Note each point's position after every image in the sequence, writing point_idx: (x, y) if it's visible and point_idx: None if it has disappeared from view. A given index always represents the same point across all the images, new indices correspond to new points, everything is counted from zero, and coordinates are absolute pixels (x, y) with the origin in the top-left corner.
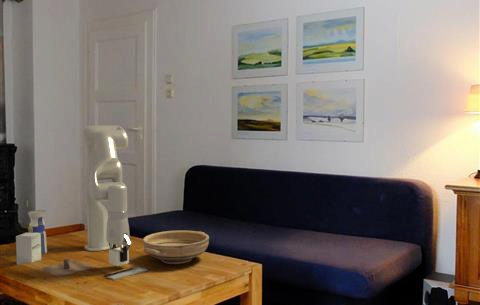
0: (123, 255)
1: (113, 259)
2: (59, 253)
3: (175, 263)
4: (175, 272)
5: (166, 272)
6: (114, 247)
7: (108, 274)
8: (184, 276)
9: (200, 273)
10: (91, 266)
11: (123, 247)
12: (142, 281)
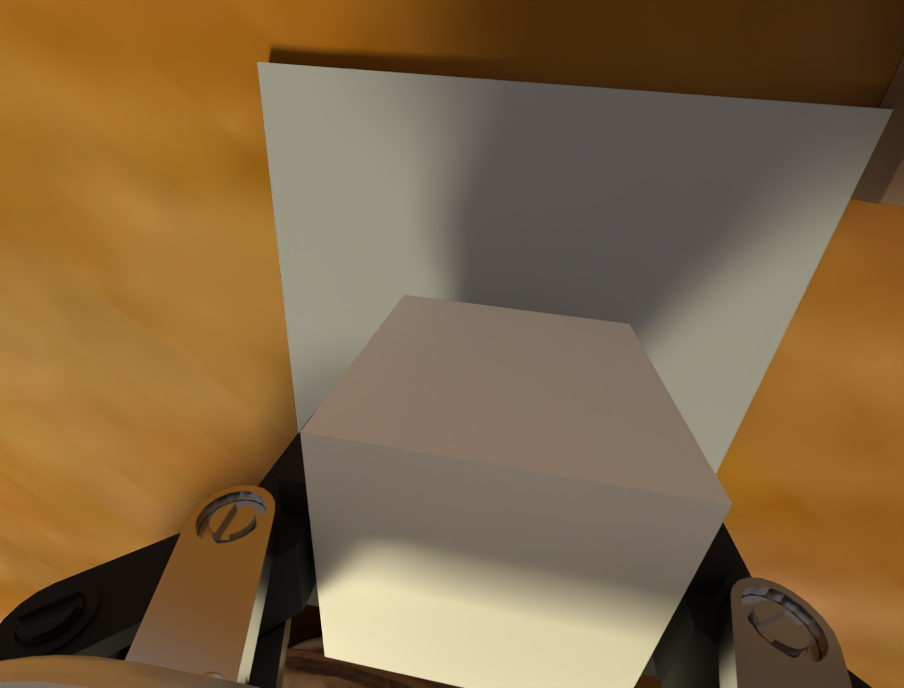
0: (285, 456)
1: (493, 345)
2: None
3: (300, 646)
4: (138, 525)
5: (175, 504)
6: (684, 666)
7: (481, 158)
8: (23, 488)
9: (37, 560)
10: None
11: (137, 622)
12: (51, 242)
